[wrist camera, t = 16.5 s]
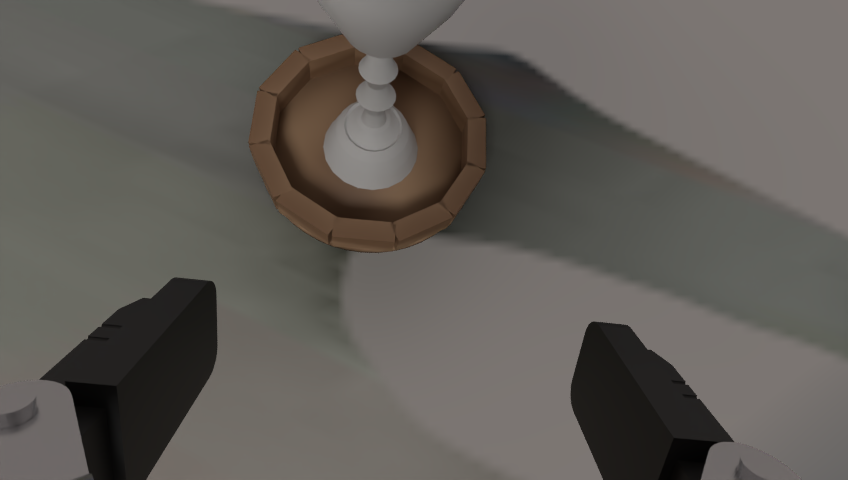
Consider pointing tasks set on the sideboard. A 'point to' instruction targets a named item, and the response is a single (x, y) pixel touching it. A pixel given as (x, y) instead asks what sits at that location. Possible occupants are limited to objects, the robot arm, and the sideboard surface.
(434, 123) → the tan segmented-rim dish
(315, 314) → the sideboard surface
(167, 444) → the robot arm
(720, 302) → the sideboard surface
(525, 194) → the sideboard surface
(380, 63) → the chalice
